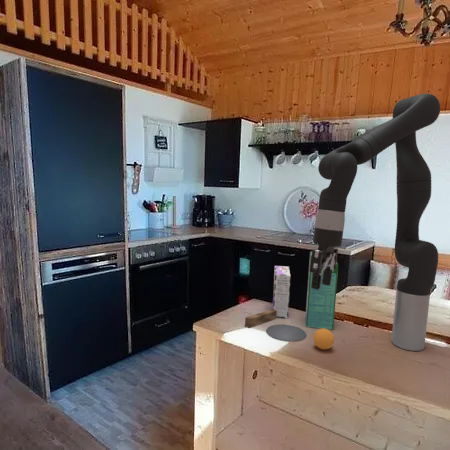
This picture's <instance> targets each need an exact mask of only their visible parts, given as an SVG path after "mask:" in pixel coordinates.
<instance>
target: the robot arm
mask: <svg viewBox="0 0 450 450" xmlns="http://www.w3.org/2000/svg"><path fill="white" fill-rule="evenodd" d="M440 113H441V104H440V101H439V99H438V97H436V95H434V94H431V93H421V94H417V95H413V96H410V97H406V98H402V99H401V100H399V101H397V102H396V104H395V105H394V108H393V110H392V118H391V119H389V120H388V121H385V122H383V123H381V124H378V125H375V126H374V127H372V128H370V129H368V130H367V131H365V132H363V133H362V134H360V135H358V137H355V138H354V139H353V140H351V141H350V142H349V143H346V144H345V145H342V146H340V147H339V148H335V149H334V150H331V151H330V152H328V153H327V154H325V155H324V156H323V157H322V158H321V160H319V163H318V169H317V170H318V173H319V175H320V176H321V177H322V178H323V179H324V180H328V181H329V180H330V183H329V184H328V187H326V188H324V189H322V190H321V192H320V194H319V199H318V200H319V201H318V206H317V212H316V216H315V220H314V221H315V222H314V227H313V228H314V230H313V237H312V243H313V244H314V245H318V246H317V249H314V248H313V249H312V258H311V264H310V272H312V274H313V276H312V283H311V288H313V289H317V290H318V289H320V285H321V277H322V276H321V275H322V273H323V280H322V284H324V285H330V284H331V277H332V272H333V271H334V269H336V262H337V261H338V252H339V248H340V247H341V246H342V242H343V235H344V229H345V222H346V220H345V219H346V215H345V214H346V207H347V199H348V195H349V193H350V191H351V188H352V187H353V184H354V182H355V179H356V176H357V172H358V166H360V165H363V164H366V163H367V162H369V161H371V160H372V159H373V158H375V157H376V156H378V155H379V154H380V153H382V152H383V151H385V150H386V149H388V148H389V147H390V146H392V145H393V144H394V145H395V155H396V156H395V157H396V158H395V159H396V160H395V161H396V162H395V163H396V203H397V204H396V205H397V206H396V230H395V231H396V232H395V240H394V241H395V242H394V257H395V260H396V263H397V262H398V264H400V266H403V267H405V268H408V271H407V275H406V277H404V278H400V279H398V280H397V283H396V288H395V289H396V290H395V291H396V292H395V302H394V311H393V322H392V329H391V330H392V332H391V343H392V345H394V346H395V347H398V348H400V349H403V350H408V351H414V352H419V351H420V352H421V351H423V350H425V343H426V335H427V325H428V320H429V319H428V318H429V317H428V315H429V307H430V300H431V299H430V297H431V291H432V288H433V287H434V284H435V282H436V277H437V270H438V265H439V250H438V249H437V246H436V245H435V244H434V243H432V242H430V241H426V240H423V239H422V240H421V239H420V235H419V234H420V232H419V231H420V221H421V218H422V216H423V214H424V213H425V210H426V208H427V206H428V204H429V203H430V201H431V197H432V172H431V169H430V167H429V165H428V164H427V162H426V160H425V159H424V157H423V155H422V153H421V152H420V149H419V148H418V145H417V136H416V135H417V134H416V133H417V131H420V130H423V128H426V127H429V126H431V125H433V124H434V123H435V122H436V121H437V120H438V118H439V116H440ZM337 263H338V262H337ZM313 266H314V267H313ZM316 268H317V269H316ZM323 270H325V271H324V272H323Z"/></svg>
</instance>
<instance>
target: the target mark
mask: <svg viewBox="0 0 450 450" xmlns="http://www.w3.org/2000/svg"><path fill="white" fill-rule="evenodd" d="M265 332H266V333H265V334H267V335H268V336H269V337H271V338H272V339H275V340H278V341H281V342H290V341H293V342H299V341H303V340H304V339H306V338H307V333H306V331H305V330H303V329H302V328H300V327H298V326H295V325H291V324H280V323H279V324H273V325H270V326H268V327H266V330H265Z"/></svg>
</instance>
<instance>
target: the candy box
mask: <svg viewBox="0 0 450 450" xmlns="http://www.w3.org/2000/svg"><path fill="white" fill-rule="evenodd" d="M273 273H274V274H273V294H272V296H273V297H272V309H273V310H276V311H277V314H276V319H277V318H279V319H288V318H289V309H290V308H289V306H290V293H291V292H290V291H291V271H290V266H285V265H274V272H273Z"/></svg>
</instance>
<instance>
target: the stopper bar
mask: <svg viewBox="0 0 450 450" xmlns="http://www.w3.org/2000/svg"><path fill="white" fill-rule="evenodd" d="M276 314H277V311H276V310H273V308H271V309H268V310H265V311H262V312H259V313H256V314H253V315H250V316H245V318H244V321H245V322H244V327H245V328H249V329H250V328H253V327H256V326H259V325H262V324H265V323H268V322H271V321H274V320H277V318H276Z"/></svg>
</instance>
